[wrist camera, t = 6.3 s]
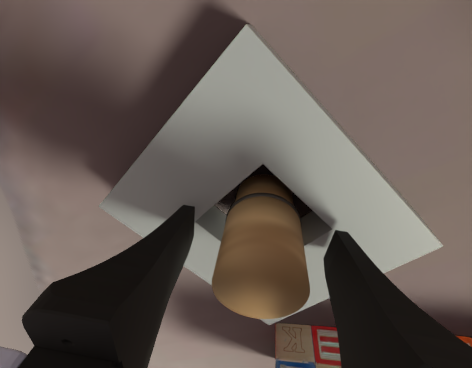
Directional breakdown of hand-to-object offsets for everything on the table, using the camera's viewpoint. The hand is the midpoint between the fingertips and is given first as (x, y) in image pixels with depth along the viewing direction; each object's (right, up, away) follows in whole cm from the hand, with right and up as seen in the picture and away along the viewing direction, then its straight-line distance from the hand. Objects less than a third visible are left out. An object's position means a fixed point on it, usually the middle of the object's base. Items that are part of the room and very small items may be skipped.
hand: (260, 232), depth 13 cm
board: (0, +2, +3) cm, 3 cm away
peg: (0, +2, +3) cm, 3 cm away
